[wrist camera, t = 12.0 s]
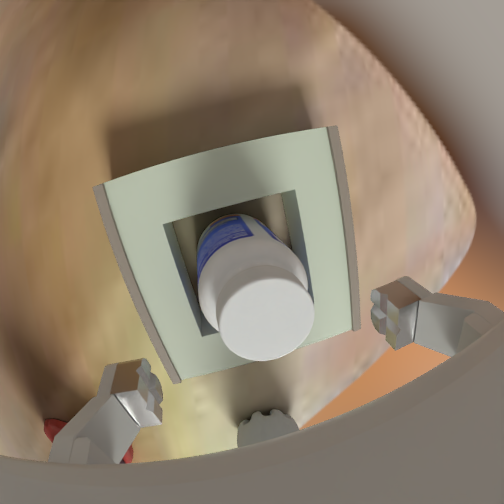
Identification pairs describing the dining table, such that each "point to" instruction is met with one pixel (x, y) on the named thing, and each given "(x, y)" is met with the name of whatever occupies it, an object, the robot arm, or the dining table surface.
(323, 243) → the holed board
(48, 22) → the dining table surface
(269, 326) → the pill bottle
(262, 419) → the bottle
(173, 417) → the dining table surface
